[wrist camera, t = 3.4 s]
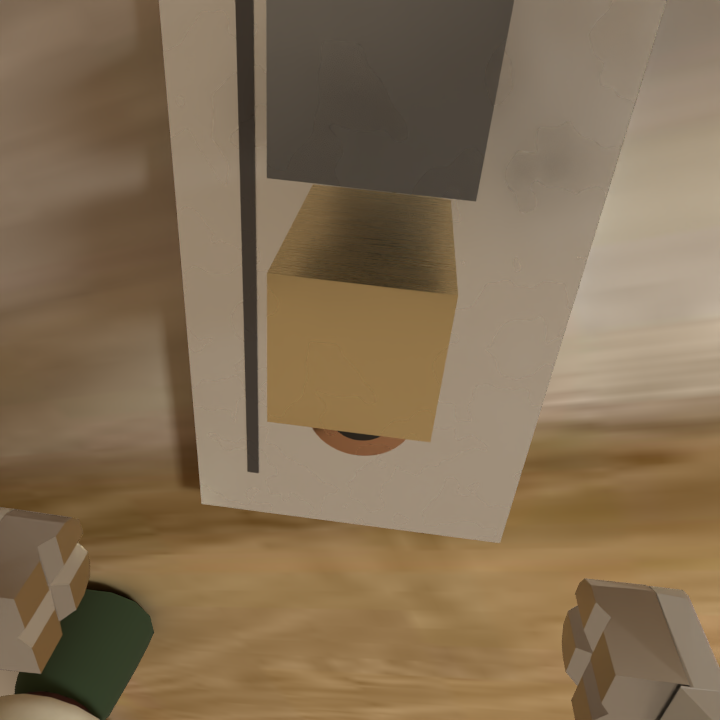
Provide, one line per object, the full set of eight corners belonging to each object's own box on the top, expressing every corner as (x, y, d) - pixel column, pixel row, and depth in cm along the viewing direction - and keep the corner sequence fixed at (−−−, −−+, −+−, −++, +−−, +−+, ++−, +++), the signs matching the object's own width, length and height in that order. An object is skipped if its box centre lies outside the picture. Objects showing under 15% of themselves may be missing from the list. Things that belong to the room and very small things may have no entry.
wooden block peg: (322, 164, 20) (266, 273, 13) (449, 178, 19) (458, 295, 13) (317, 278, 22) (267, 421, 15) (430, 292, 22) (430, 442, 15)
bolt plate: (155, -300, 15) (-153, -583, 7) (723, -252, 15) (1072, -499, 7) (211, 481, 30) (130, 674, 22) (496, 518, 30) (521, 730, 22)
